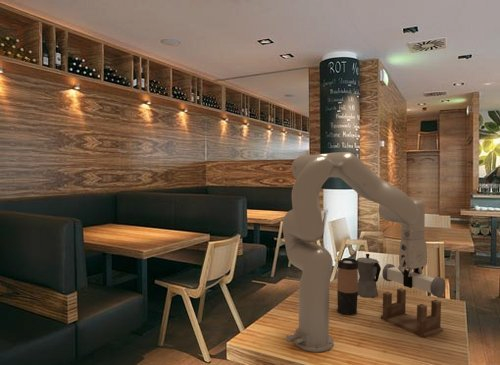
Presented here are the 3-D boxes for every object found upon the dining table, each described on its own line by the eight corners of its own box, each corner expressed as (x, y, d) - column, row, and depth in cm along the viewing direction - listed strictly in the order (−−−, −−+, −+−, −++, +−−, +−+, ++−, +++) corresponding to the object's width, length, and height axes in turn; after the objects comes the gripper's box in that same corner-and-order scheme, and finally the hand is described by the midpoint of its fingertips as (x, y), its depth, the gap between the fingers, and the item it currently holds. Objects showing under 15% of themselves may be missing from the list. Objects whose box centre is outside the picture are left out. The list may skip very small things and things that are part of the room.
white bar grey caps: (445, 295, 126) (445, 276, 126) (433, 298, 123) (434, 279, 123) (393, 279, 144) (393, 262, 144) (382, 281, 141) (382, 265, 140)
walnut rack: (443, 330, 129) (443, 302, 129) (424, 337, 124) (425, 308, 123) (398, 313, 144) (399, 287, 144) (380, 318, 139) (380, 292, 139)
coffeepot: (349, 290, 171) (350, 251, 170) (367, 288, 173) (367, 249, 172) (369, 302, 156) (370, 259, 155) (388, 299, 159) (389, 257, 158)
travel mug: (358, 316, 141) (359, 263, 140) (337, 314, 143) (338, 262, 142) (356, 308, 149) (357, 258, 148) (336, 307, 150) (337, 257, 149)
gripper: (406, 239, 125) (406, 293, 126) (437, 234, 134) (436, 284, 135) (388, 235, 132) (387, 287, 132) (418, 230, 140) (417, 279, 141)
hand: (412, 285), depth 134 cm, fingers closed on white bar grey caps, 4 cm apart
